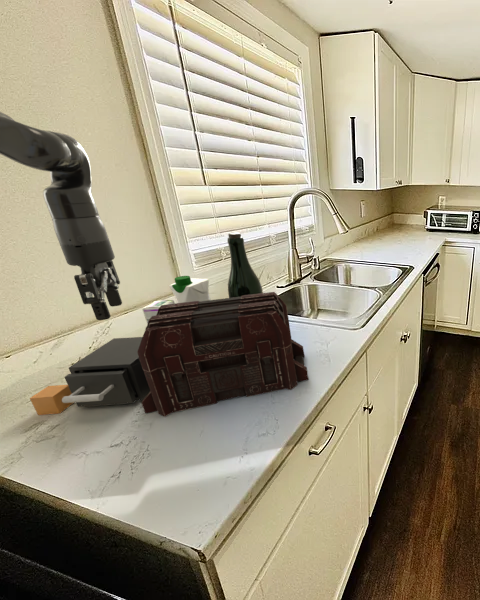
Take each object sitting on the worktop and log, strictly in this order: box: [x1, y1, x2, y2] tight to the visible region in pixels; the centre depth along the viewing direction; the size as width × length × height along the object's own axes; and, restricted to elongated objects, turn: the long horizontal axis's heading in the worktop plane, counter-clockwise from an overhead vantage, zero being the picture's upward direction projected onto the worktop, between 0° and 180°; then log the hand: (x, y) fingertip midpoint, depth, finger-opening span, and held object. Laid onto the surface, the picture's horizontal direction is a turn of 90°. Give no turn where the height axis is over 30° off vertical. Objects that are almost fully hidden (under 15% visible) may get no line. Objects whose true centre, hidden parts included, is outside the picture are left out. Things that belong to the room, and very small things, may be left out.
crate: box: [137, 291, 309, 418], centre depth 79 cm, size 35×19×21 cm, turn 110°
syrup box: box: [142, 299, 176, 324], centre depth 97 cm, size 6×6×14 cm
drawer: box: [62, 368, 137, 408], centre depth 75 cm, size 17×12×8 cm
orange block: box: [29, 384, 74, 416], centre depth 73 cm, size 4×4×4 cm
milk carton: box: [168, 275, 211, 303], centre depth 104 cm, size 9×9×20 cm
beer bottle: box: [227, 232, 264, 298], centre depth 102 cm, size 10×10×33 cm
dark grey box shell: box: [68, 336, 150, 402], centre depth 80 cm, size 14×13×10 cm
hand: (110, 312), depth 72 cm, fingers open, 8 cm apart
